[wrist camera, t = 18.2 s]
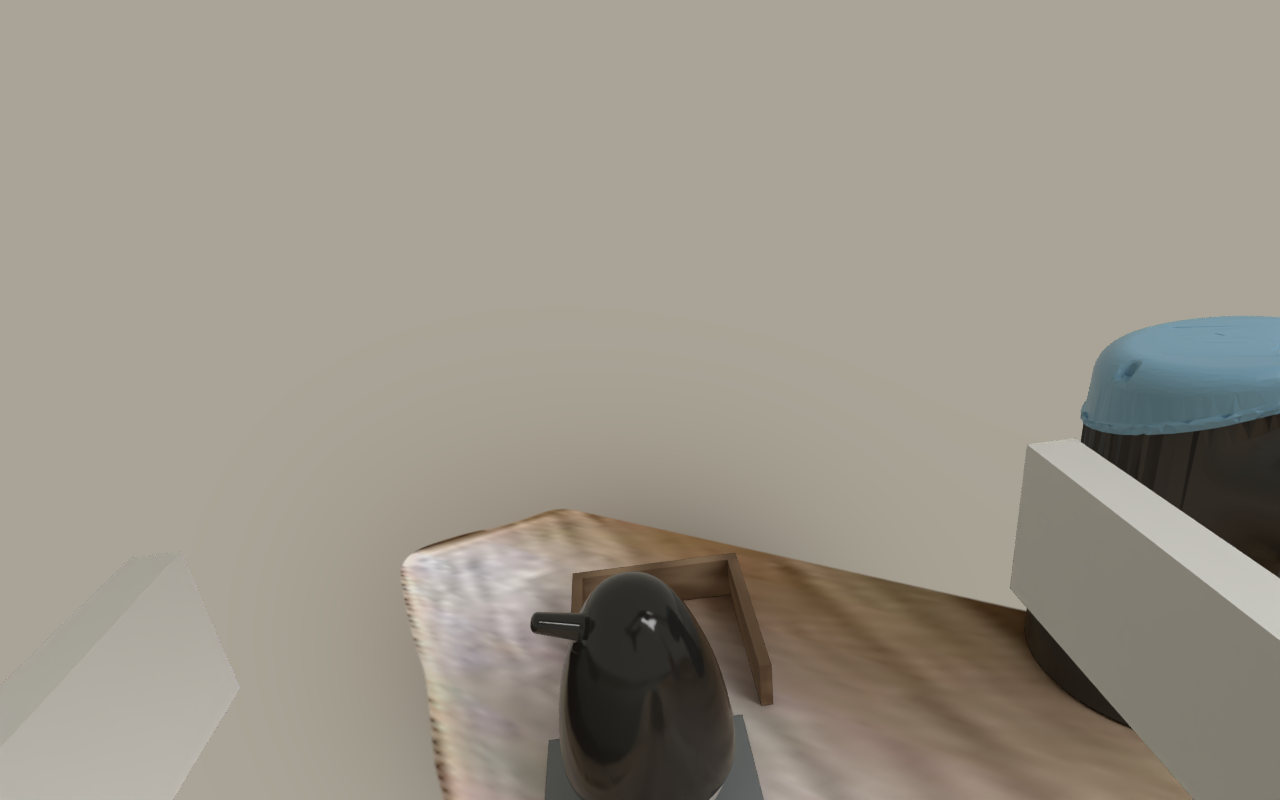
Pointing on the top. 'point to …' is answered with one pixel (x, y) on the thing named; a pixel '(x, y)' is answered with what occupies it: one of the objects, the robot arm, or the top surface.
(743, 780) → the grey mat
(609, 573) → the walnut caddy
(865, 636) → the top surface
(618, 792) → the pump dispenser
